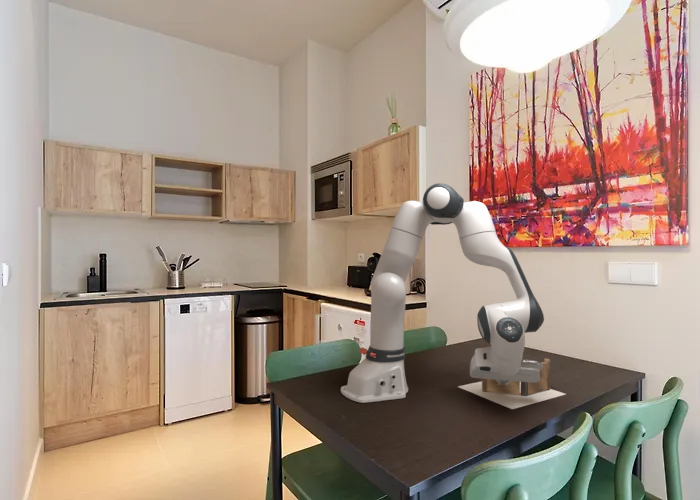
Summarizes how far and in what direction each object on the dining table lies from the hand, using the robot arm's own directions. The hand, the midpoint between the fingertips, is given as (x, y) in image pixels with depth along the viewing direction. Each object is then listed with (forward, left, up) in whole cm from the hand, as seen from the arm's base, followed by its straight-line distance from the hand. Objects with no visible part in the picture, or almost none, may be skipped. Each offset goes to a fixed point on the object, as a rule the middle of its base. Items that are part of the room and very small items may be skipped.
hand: (502, 383), depth 129 cm
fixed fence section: (+11, -4, -4) cm, 13 cm away
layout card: (+6, +1, -4) cm, 7 cm away
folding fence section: (+1, +1, -3) cm, 4 cm away
